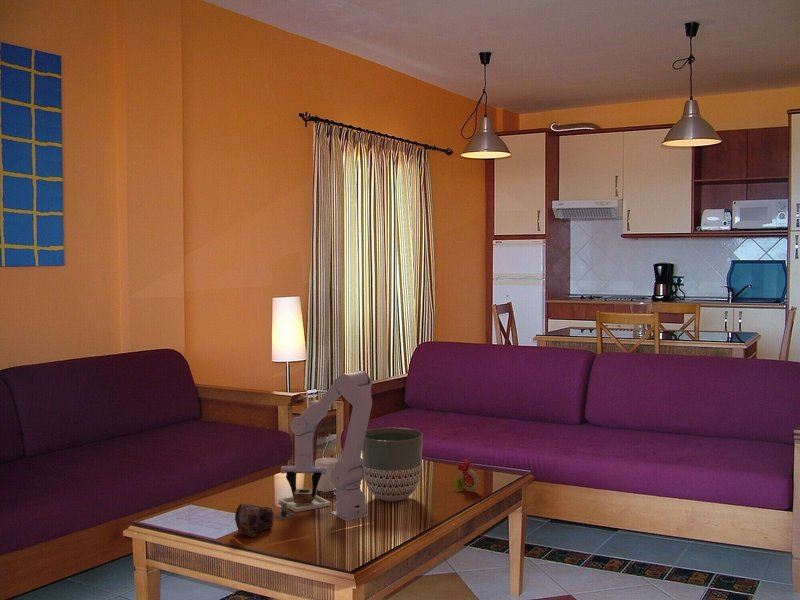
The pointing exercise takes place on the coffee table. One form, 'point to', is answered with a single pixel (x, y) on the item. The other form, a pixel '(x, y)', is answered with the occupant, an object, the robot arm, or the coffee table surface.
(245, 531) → the rock
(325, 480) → the white cup
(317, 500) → the tray
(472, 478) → the bird rattle
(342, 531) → the coffee table surface
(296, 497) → the brown square frame
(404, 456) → the planter
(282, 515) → the grey knobbed lid
